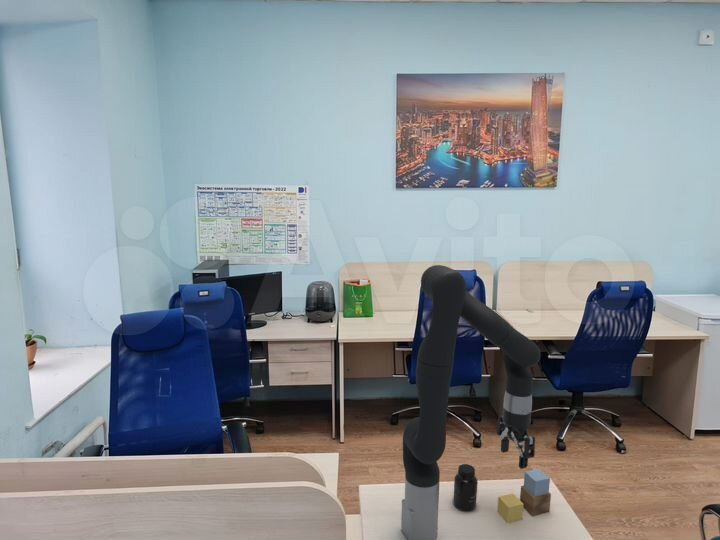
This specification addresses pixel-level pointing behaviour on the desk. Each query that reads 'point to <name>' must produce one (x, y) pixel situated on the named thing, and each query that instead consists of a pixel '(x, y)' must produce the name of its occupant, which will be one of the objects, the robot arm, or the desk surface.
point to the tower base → (535, 502)
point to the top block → (510, 508)
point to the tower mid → (536, 482)
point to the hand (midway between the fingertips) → (513, 459)
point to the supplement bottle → (465, 488)
